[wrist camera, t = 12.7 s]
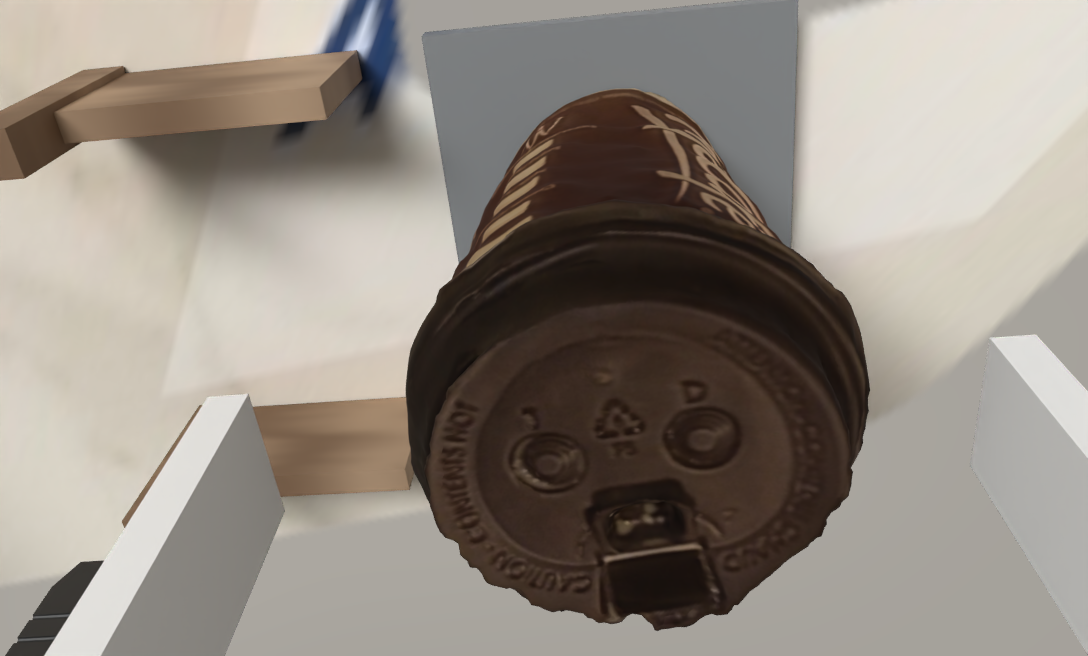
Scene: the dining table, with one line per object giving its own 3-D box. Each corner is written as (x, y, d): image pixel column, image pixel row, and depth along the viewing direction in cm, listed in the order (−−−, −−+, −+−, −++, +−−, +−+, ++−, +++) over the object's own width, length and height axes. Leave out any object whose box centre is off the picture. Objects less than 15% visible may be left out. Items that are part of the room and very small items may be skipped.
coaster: (475, 344, 30) (473, 353, 29) (424, 32, 25) (421, 37, 25) (784, 323, 29) (788, 332, 28) (793, -5, 24) (798, -1, 24)
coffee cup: (665, 366, 29) (708, 716, 18) (427, 262, 28) (312, 572, 17) (819, 130, 25) (998, 392, 14) (549, -7, 24) (506, 163, 12)
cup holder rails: (209, 433, 32) (135, 552, 27) (83, 69, 26) (-45, 132, 21) (430, 419, 31) (398, 539, 26) (355, 42, 25) (293, 100, 20)
